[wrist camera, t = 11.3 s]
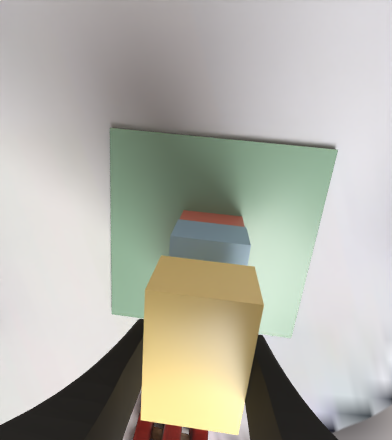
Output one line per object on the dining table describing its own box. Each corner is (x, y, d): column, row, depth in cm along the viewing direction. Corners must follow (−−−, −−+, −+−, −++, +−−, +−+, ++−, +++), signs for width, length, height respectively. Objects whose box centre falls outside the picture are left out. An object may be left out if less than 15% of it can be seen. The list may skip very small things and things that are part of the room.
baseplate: (335, 149, 19) (338, 149, 19) (290, 335, 24) (291, 338, 24) (111, 127, 20) (109, 127, 20) (113, 311, 25) (111, 314, 25)
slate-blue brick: (246, 227, 18) (250, 245, 15) (232, 316, 20) (233, 346, 17) (178, 219, 18) (170, 235, 15) (171, 308, 20) (163, 336, 18)
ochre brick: (254, 266, 13) (264, 304, 10) (234, 378, 15) (238, 435, 12) (161, 255, 13) (144, 290, 10) (155, 366, 16) (140, 419, 13)
